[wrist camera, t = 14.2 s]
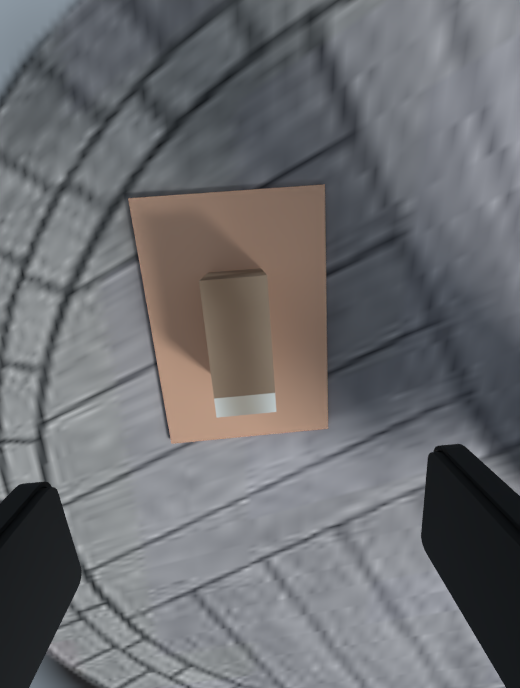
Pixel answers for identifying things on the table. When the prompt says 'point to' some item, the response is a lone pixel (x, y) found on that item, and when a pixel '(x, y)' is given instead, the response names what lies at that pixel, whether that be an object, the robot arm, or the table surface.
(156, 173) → the table surface
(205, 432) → the mat
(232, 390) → the card box
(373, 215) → the table surface
